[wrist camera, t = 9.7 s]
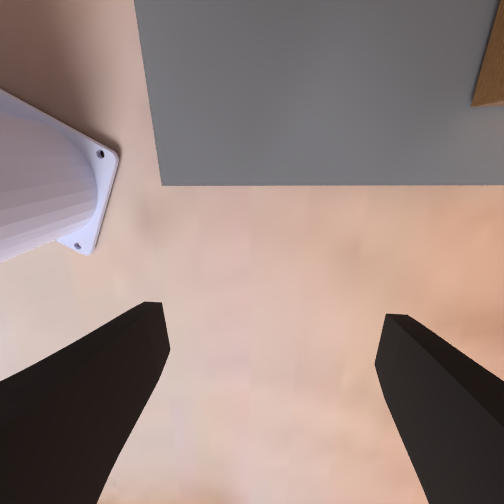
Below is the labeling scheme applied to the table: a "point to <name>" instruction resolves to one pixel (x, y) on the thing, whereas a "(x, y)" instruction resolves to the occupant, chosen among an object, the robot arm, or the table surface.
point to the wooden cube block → (492, 67)
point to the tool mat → (320, 92)
